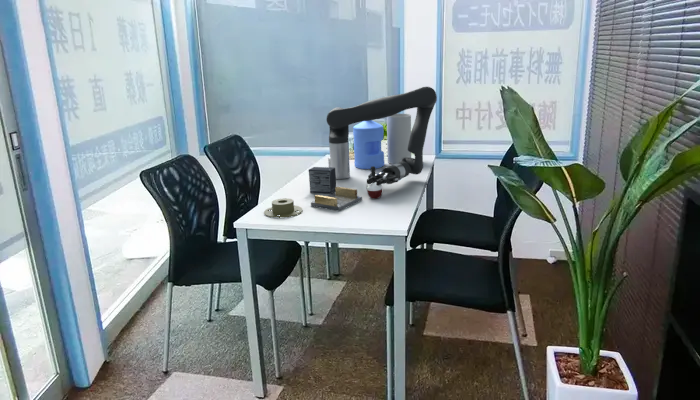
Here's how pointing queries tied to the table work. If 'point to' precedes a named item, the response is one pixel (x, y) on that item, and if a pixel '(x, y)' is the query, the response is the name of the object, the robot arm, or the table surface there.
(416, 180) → the table surface
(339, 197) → the plate
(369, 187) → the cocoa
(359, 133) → the water jug
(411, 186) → the table surface
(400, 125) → the cylinder vase
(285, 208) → the flange
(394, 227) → the table surface
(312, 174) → the small box
